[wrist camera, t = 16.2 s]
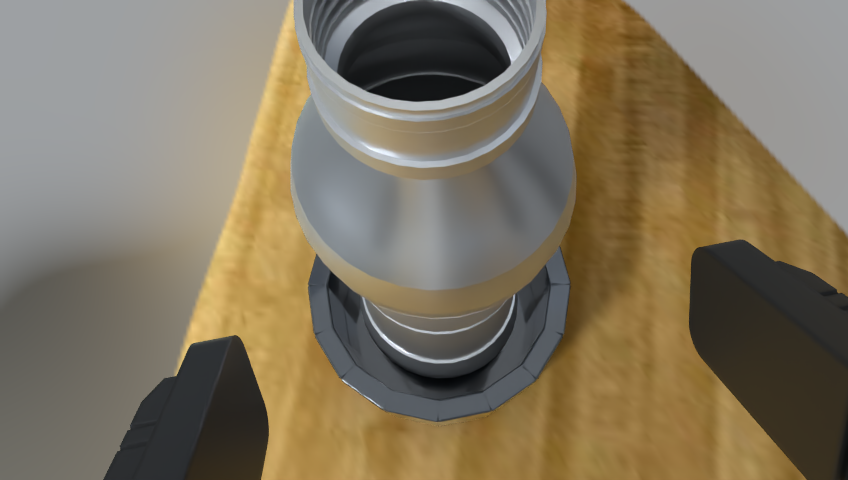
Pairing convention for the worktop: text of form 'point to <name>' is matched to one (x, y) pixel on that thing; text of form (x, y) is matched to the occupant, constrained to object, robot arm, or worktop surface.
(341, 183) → the silver bottle
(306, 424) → the worktop surface
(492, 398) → the socket
